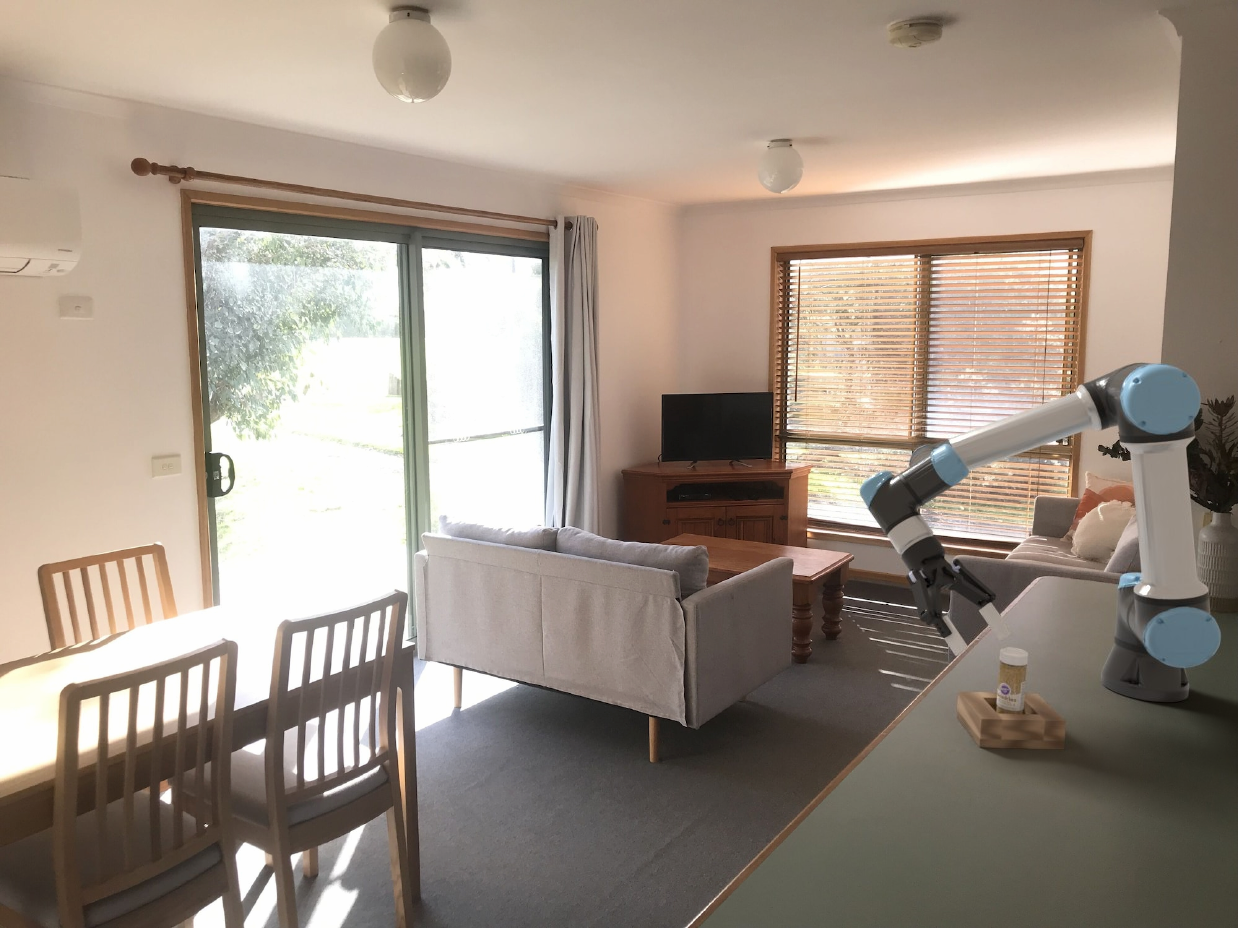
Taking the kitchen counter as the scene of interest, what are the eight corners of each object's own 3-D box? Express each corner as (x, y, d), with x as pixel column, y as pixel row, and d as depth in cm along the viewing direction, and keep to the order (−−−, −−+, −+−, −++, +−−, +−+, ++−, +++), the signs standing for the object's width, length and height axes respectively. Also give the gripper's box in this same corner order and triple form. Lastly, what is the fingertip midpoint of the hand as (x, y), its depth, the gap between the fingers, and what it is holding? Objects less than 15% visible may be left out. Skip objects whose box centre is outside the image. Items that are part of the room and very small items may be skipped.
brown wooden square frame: (1034, 719, 166) (1036, 693, 165) (1063, 749, 154) (1066, 721, 153) (956, 717, 166) (958, 691, 166) (979, 747, 155) (981, 718, 154)
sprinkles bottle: (991, 724, 160) (996, 650, 158) (999, 716, 163) (1004, 644, 161) (1018, 732, 157) (1024, 657, 155) (1026, 723, 160) (1032, 650, 159)
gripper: (944, 547, 182) (1009, 641, 172) (862, 565, 167) (928, 668, 157) (969, 526, 177) (1038, 621, 167) (887, 542, 162) (957, 647, 152)
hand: (984, 644), depth 162 cm, fingers open, 13 cm apart
